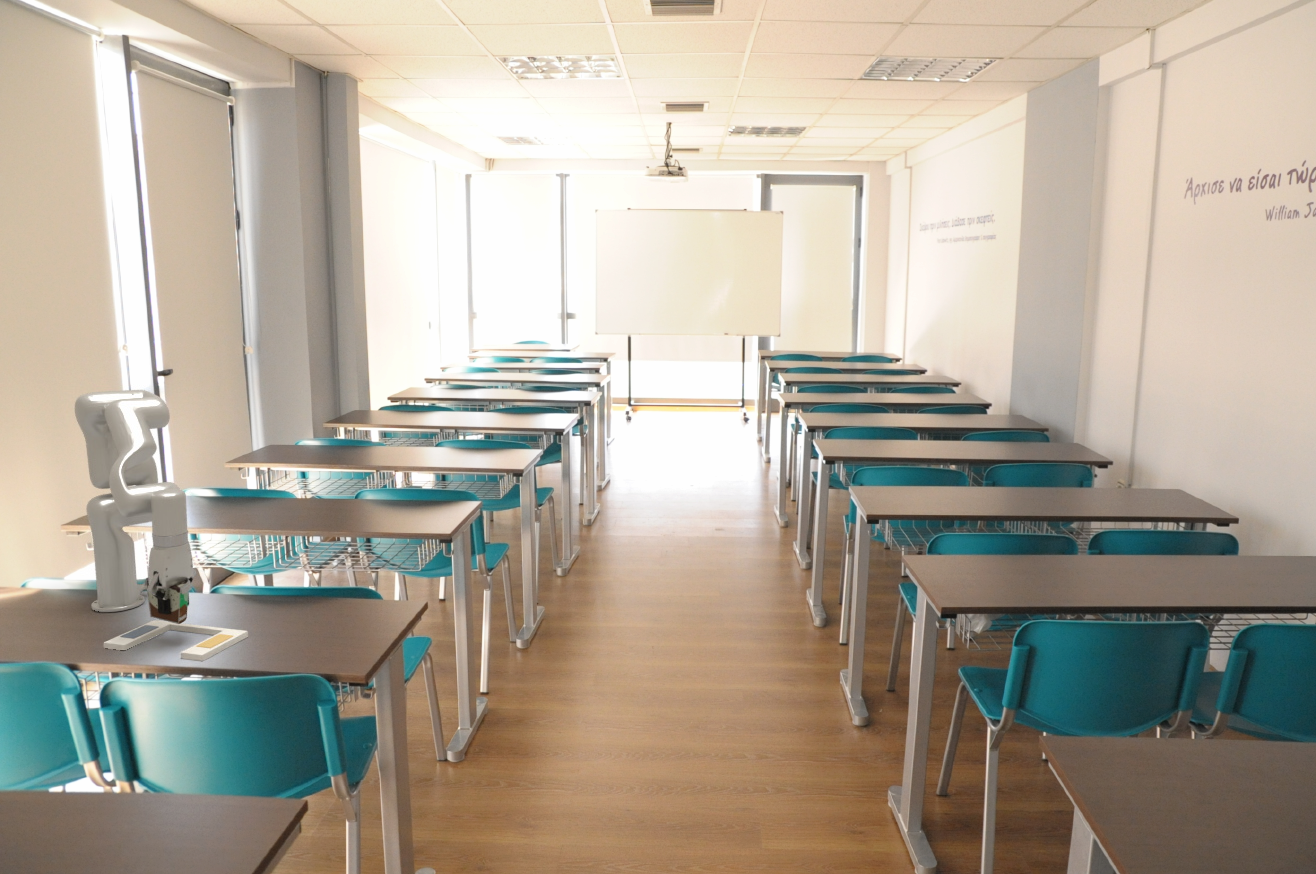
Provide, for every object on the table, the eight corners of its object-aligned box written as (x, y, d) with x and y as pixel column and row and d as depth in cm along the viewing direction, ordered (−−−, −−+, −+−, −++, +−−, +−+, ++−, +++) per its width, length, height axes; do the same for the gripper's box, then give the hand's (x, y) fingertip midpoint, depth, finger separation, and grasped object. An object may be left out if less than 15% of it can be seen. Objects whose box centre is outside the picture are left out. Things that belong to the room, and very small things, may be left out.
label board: (154, 625, 229) (154, 619, 229) (248, 636, 223) (247, 630, 223) (103, 648, 214) (103, 641, 214) (202, 661, 208) (202, 654, 208)
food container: (204, 616, 220) (203, 579, 218) (183, 625, 214) (182, 586, 212) (167, 607, 224) (165, 570, 222) (145, 616, 218) (144, 577, 216)
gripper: (183, 528, 224) (186, 596, 227) (129, 547, 207) (133, 619, 211) (208, 531, 222) (211, 599, 225) (156, 551, 206) (160, 624, 209)
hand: (173, 608), depth 218 cm, fingers closed on food container, 5 cm apart
